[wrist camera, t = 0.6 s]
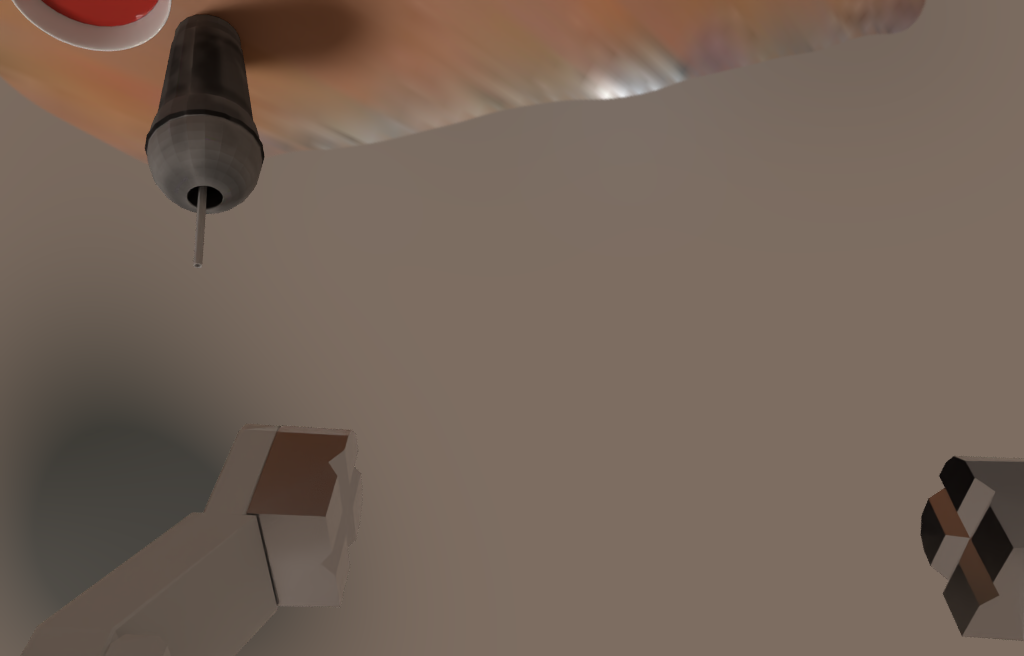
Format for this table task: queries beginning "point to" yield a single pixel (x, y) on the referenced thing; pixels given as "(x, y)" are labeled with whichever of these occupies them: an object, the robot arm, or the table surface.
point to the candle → (98, 21)
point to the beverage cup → (205, 124)
